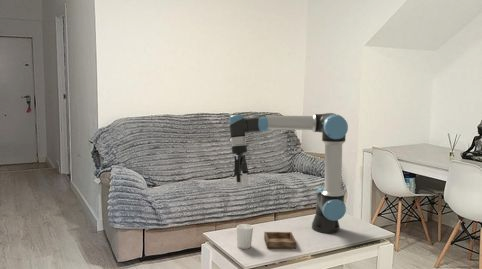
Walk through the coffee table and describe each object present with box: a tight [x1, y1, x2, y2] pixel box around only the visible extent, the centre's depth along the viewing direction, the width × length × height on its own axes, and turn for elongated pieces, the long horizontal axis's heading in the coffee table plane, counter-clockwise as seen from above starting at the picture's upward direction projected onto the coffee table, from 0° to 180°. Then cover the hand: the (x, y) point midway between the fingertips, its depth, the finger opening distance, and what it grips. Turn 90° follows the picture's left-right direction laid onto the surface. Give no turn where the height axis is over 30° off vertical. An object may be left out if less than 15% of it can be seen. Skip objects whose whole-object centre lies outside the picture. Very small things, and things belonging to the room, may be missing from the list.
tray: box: [263, 231, 297, 250], centre depth 217 cm, size 14×14×4 cm
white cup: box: [236, 223, 254, 250], centre depth 212 cm, size 8×8×10 cm
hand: (242, 187), depth 220 cm, fingers open, 13 cm apart
